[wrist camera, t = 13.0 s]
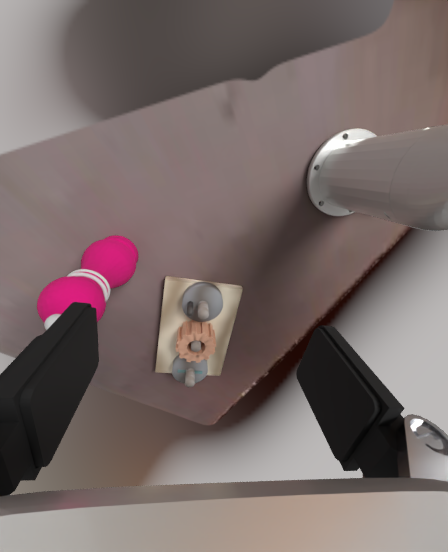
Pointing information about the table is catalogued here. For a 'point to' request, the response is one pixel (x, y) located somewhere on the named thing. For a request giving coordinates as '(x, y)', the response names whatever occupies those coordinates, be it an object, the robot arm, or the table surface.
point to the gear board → (179, 317)
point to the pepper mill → (90, 279)
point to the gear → (192, 333)
